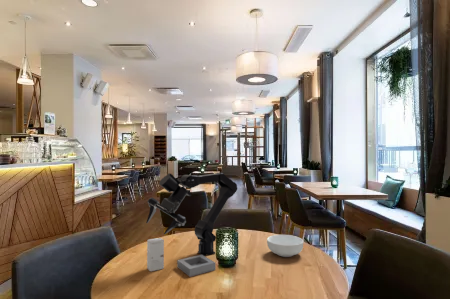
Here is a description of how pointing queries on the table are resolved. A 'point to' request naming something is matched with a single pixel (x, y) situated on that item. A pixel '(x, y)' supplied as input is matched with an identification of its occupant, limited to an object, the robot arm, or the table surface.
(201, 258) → the ceramic holder
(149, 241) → the skincare box
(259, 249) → the table surface
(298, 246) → the cereal bowl
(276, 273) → the table surface
